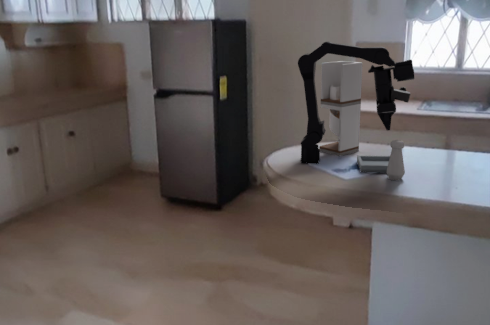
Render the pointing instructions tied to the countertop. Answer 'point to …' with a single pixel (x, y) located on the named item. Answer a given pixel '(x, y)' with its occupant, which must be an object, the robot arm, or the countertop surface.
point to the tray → (373, 163)
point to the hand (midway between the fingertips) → (388, 127)
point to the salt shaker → (396, 161)
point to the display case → (342, 104)
